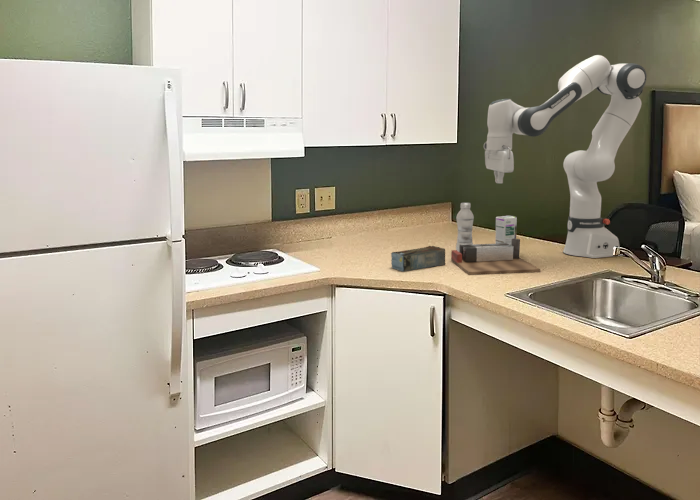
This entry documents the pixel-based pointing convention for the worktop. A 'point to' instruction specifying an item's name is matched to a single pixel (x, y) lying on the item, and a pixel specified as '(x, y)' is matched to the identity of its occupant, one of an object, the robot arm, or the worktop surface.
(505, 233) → the syrup box
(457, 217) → the plastic bottle
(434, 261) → the beverage carton
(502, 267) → the tongs base
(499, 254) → the jaw
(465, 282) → the worktop surface
